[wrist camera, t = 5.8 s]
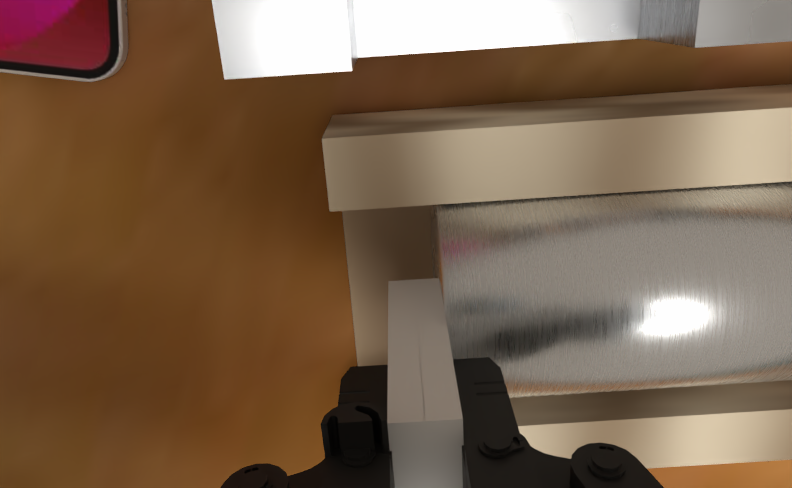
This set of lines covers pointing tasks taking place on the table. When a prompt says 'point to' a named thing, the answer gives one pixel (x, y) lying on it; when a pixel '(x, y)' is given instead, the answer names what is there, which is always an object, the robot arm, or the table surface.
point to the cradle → (469, 28)
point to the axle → (621, 287)
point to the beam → (555, 177)
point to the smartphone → (63, 38)
